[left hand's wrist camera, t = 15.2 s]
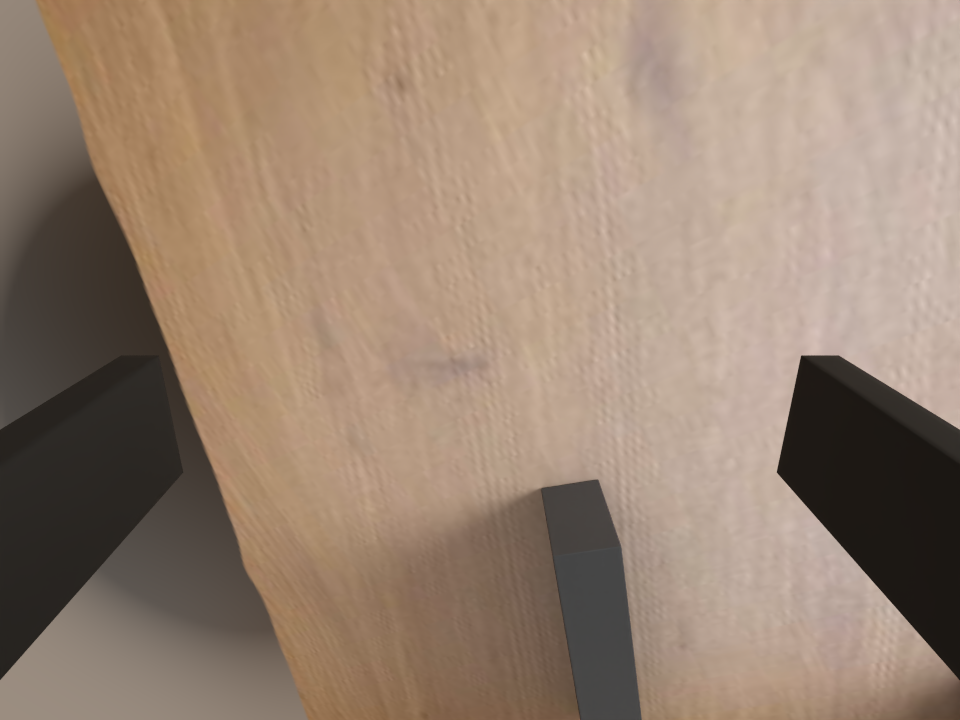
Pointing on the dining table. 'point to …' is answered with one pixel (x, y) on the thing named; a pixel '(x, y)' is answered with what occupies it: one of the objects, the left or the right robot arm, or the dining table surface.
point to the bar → (593, 601)
